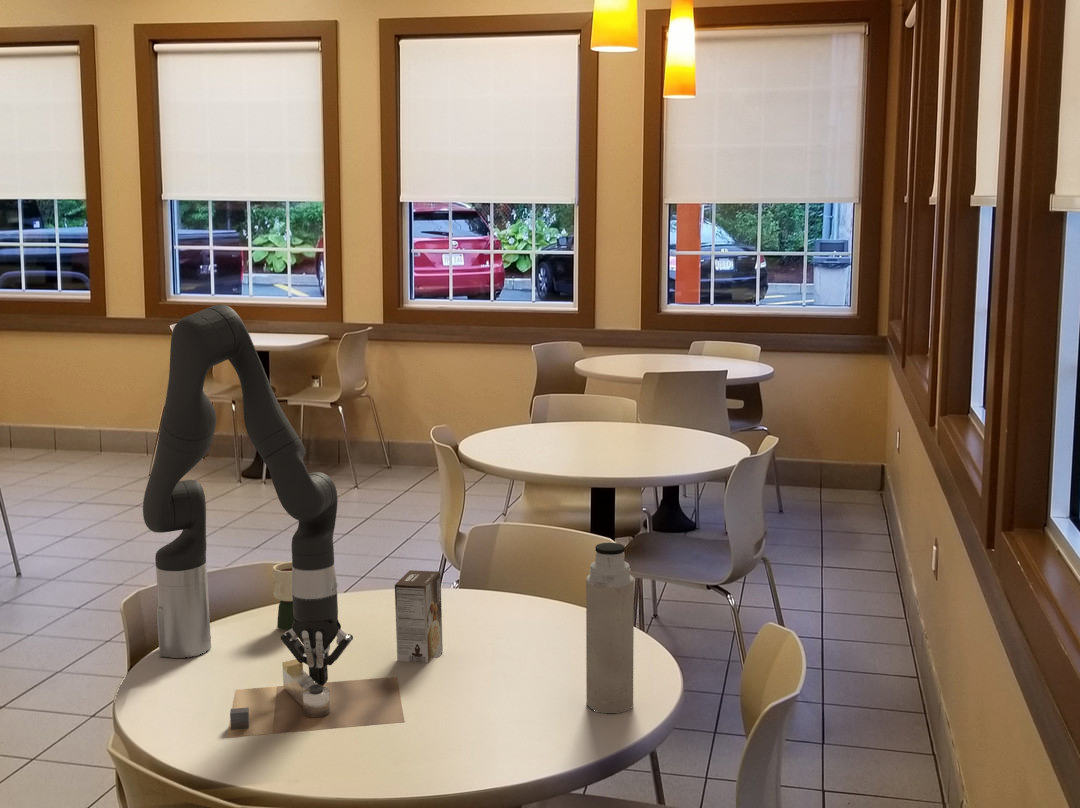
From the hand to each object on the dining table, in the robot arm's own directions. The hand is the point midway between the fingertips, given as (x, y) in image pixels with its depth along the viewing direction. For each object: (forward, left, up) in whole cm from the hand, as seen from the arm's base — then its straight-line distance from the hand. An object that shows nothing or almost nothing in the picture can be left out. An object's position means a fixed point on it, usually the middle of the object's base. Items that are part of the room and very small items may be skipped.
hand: (319, 685), depth 199 cm
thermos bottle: (+49, -13, -2) cm, 50 cm away
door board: (0, -6, -2) cm, 6 cm away
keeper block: (-13, -12, -1) cm, 17 cm away
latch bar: (-2, -4, -1) cm, 5 cm away
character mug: (-5, +36, -3) cm, 37 cm away
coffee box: (+19, +14, -3) cm, 24 cm away
